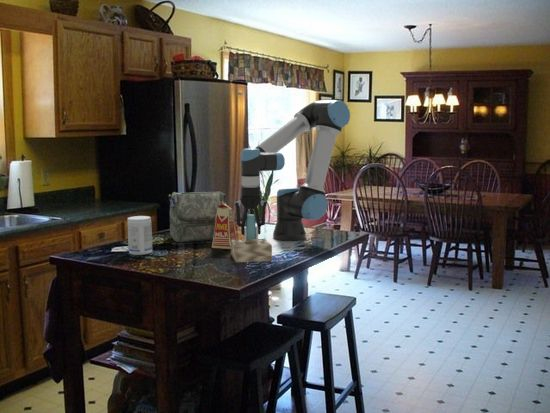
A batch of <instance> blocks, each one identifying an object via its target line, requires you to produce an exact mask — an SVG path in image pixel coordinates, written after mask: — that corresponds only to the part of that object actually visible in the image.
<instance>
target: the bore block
mask: <svg viewBox="0 0 550 413" xmlns="http://www.w3.org/2000/svg"><path fill="white" fill-rule="evenodd" d="M230 254H231V255H230V256H231V257H232V258H233V260H234V262H235V263H249V262H250V263H251V262H252V263H253V262H255V263H256V262H273V245H272V244H271V243H270V242H269V241H268V240H267V239H266V238H258V239H248V240H244V239H236V240H231V249H230Z"/></svg>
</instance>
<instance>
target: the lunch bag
mask: <svg viewBox="0 0 550 413" xmlns="http://www.w3.org/2000/svg"><path fill="white" fill-rule="evenodd" d="M225 199H226V194H225V193H224V192H222V191H220V190H218V191H207V192H206V191H198V192H197V191H196V192H195V191H194V192H176V191H173V192H172V193H171V194H168V200H169V231H170V232H169V233H170V237H171V238H172V240H173V241H174V242H176V243H185V242H202V241H203V242H204V241H205V242H206V241H213V237H214V231H215V218H216V214H217V208H218V207H219V206H220V205H221V204H222V201H223V202H224V203H225V201H224V200H225Z"/></svg>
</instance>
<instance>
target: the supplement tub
mask: <svg viewBox="0 0 550 413" xmlns="http://www.w3.org/2000/svg"><path fill="white" fill-rule="evenodd" d="M152 229H153V228H152V217H151V216H148V215H135V216H134V215H133V216H130V217H127V239H128V240H127V243H128V244H127V245H128V252H129V254H130V255H134V256H143V255H149V254H151V253H152V252H153V231H152Z"/></svg>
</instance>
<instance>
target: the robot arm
mask: <svg viewBox="0 0 550 413" xmlns="http://www.w3.org/2000/svg"><path fill="white" fill-rule="evenodd" d="M350 119H351V112H350V109H349V106H348V105H347V103H346V102H344V101H343V100H337V99H330V100H329V99H328V100H316V101H313V102H311V103H309V104H307V105H306V106H304V107H303V108H301V109H300V110H299V111H298V112H296V113H295V114H294V115H293V118H291V120H289V121H288V122H287V123H286V124H284V125H283V126H282V127H280V128H279V129H278V130H277V131H275V132H274V133H272V134H271V135H270V136H269V137H268V138H266V139H265V140H264V141H262V142H261V143H259V144H258V145H257V146H256V147H254V148H242V150H241V154H240V168H241V171H240V172H241V198H240V199H239V200H237V201H235V202H234V206H235V212H236V213H235V214H236V215H235V217H236V218H235V219H236V225H237V226H238V227H240V233H241V235H242V236H243V240H247V232H246V217H247V215H248V212H249V210H250V209H252V210H253V213H254V214H253V215H255V224H256V225H255V238H256V239H259V235H261V234H262V233H261V232H262V230H261V227H262V226H265V225H266V206H267V204H268V202H267V201H266V200H262V199H261V194H260V193H261V190H260V189H261V188H260V185H261V184H260V182H261V180H260V178H261V177H260V176H261V172H270V171H272V172H273V171H276V172H277V171H281V170H283V168H284V167H285V164H286V162H285V161H286V160H285V157H284V154H282V153H281V152H280V150H282V149H284V148H285V147H286V146H287V145H288V144H290V143H291V142H293V141H294V140H295V139H296V138H297V137H298V136H300V135H301V134H303V133H304V132H305V133H306V132H309V131H310V130H311V129H314V128H315V130H316V131H317V132H316V137H315V140H314V144H313V149H312V153H311V156H310V160H309V163H308V164H309V165H308V167H307V171H306V175H305V180H304V183H303V184H301V185H300V186H299V187H293V188H291V187H290V188H280V189H278V190H277V193H276V224H275V226H274V230H273V233H272V238H273V239H274V240H278V241H300V240H305V239H306V237H307V232H306V230H305V226H304V223H303V219H304V220H308V221H316V220H319V219H321V218H322V217H324V215H325V214H326V213H327V210H328V205H329V204H328V203H329V202H328V200H327V197H326V190H325V189H324V186H325V182H326V179H327V174H328V171H329V167H330V163H331V158H332V154H333V150H334V146H335V143H336V139H337V136H339V135H341V133H342V129H343V128H344V127H346V125H348V124H349V122H350ZM241 205H243V207H244V208H243V213H242V218H241V208H240V207H241ZM259 205H261V218H260V215H259V211H258V210H259V209H258V206H259Z"/></svg>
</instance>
